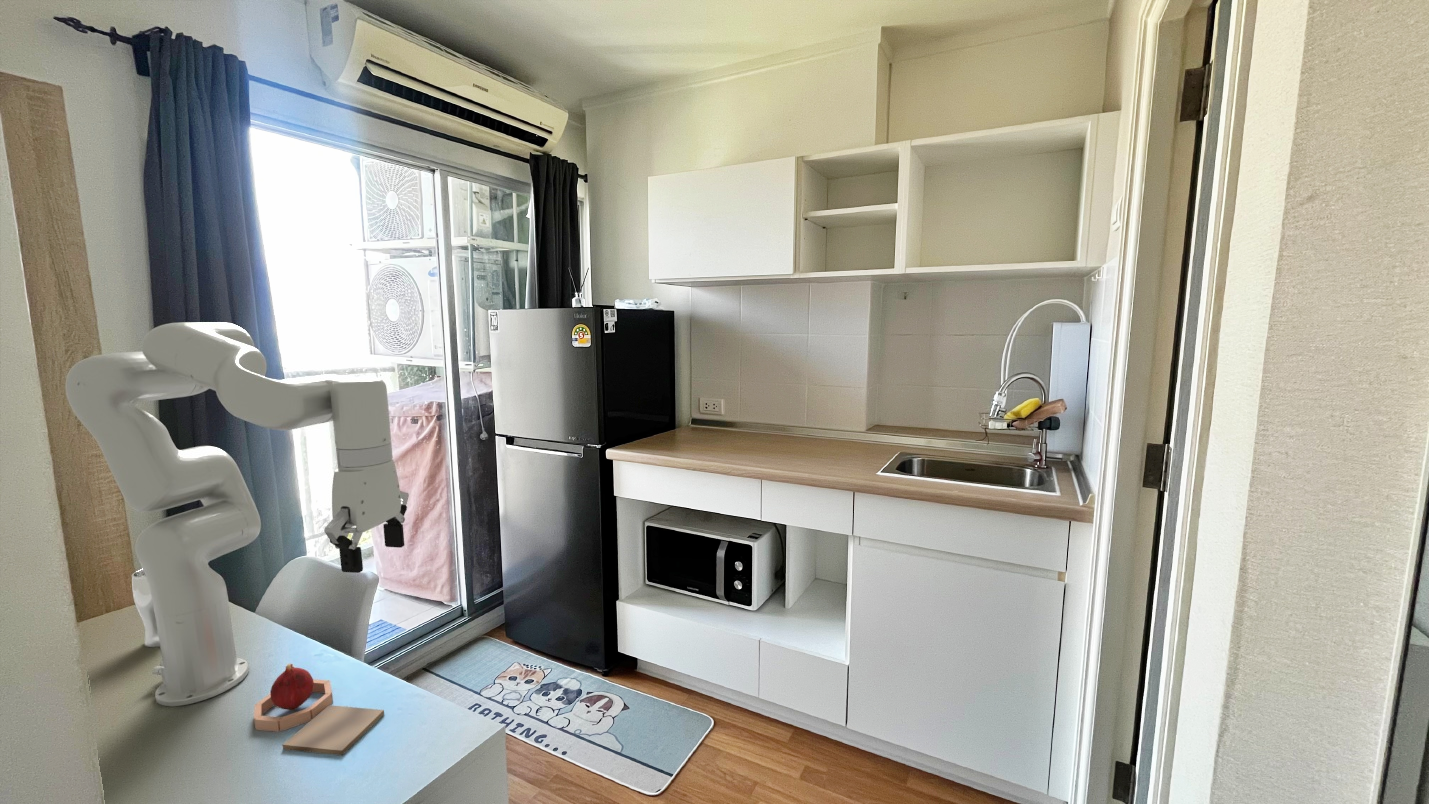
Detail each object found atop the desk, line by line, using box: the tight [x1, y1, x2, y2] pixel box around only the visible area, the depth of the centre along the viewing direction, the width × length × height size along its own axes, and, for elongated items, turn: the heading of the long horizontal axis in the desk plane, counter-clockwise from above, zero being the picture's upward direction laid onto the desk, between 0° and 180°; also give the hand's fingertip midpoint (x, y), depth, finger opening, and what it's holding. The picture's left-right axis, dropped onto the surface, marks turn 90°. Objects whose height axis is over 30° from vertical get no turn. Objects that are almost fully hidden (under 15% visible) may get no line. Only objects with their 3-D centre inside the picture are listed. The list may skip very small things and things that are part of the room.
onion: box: [269, 663, 314, 711], centre depth 95 cm, size 6×6×8 cm
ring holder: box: [253, 678, 334, 733], centre depth 96 cm, size 10×10×2 cm
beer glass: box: [131, 568, 160, 648], centre depth 116 cm, size 7×7×15 cm
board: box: [281, 704, 385, 756], centre depth 91 cm, size 10×9×1 cm
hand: (374, 558), depth 93 cm, fingers open, 9 cm apart
